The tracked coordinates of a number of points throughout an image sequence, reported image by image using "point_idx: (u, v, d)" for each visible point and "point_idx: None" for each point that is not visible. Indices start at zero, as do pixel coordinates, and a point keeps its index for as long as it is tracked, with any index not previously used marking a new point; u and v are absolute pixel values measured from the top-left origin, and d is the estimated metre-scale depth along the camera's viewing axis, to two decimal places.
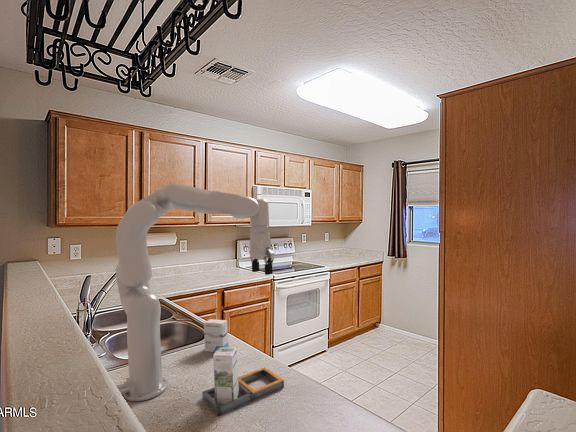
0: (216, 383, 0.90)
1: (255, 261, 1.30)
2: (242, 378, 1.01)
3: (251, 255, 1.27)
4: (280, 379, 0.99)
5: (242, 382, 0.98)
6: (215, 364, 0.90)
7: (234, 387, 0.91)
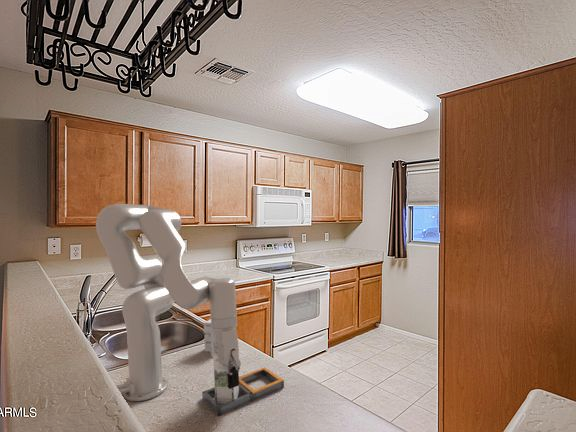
0: (216, 383, 0.90)
1: None
2: (242, 378, 1.01)
3: (212, 355, 0.94)
4: (280, 379, 0.99)
5: (242, 382, 0.98)
6: (215, 364, 0.90)
7: (234, 387, 0.91)
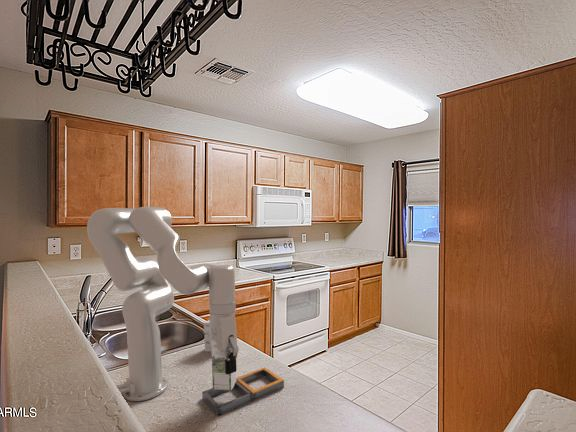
0: (214, 369, 0.91)
1: None
2: (242, 378, 1.01)
3: (210, 341, 0.94)
4: (280, 379, 0.99)
5: (242, 382, 0.98)
6: (213, 350, 0.91)
7: (231, 373, 0.91)
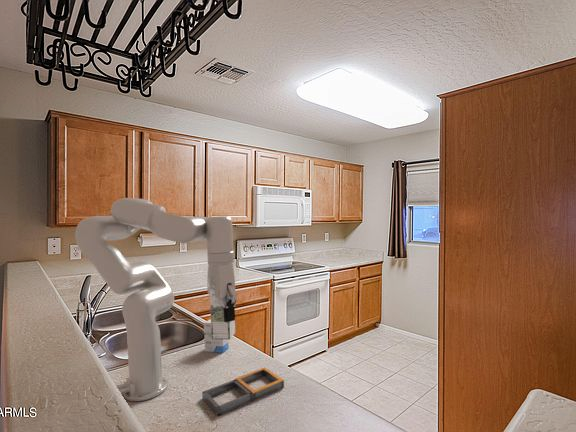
0: (212, 318, 0.91)
1: None
2: (242, 378, 1.01)
3: (209, 292, 0.94)
4: (280, 379, 0.99)
5: (242, 382, 0.98)
6: (211, 299, 0.91)
7: (230, 322, 0.91)
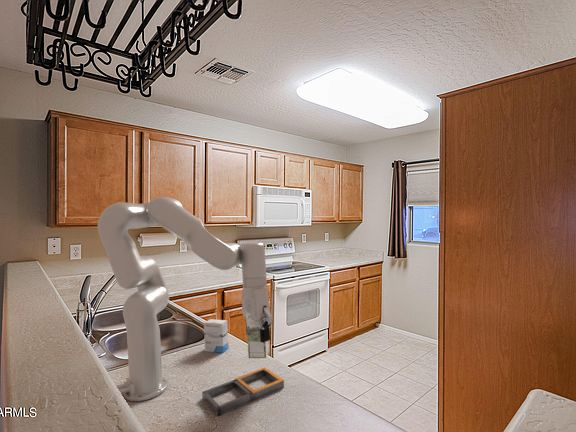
0: (249, 338, 0.97)
1: None
2: (242, 378, 1.01)
3: (244, 313, 1.00)
4: (280, 379, 0.99)
5: (242, 382, 0.98)
6: (248, 320, 0.97)
7: (266, 342, 0.98)
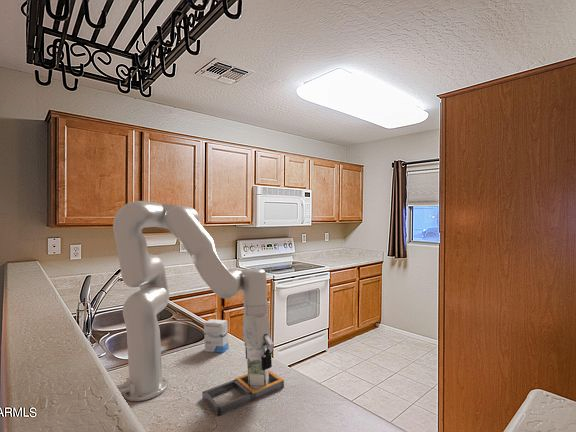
0: (249, 371, 0.97)
1: None
2: (242, 378, 1.01)
3: (245, 340, 1.00)
4: (280, 379, 0.99)
5: (242, 382, 0.98)
6: (248, 353, 0.97)
7: (266, 374, 0.97)
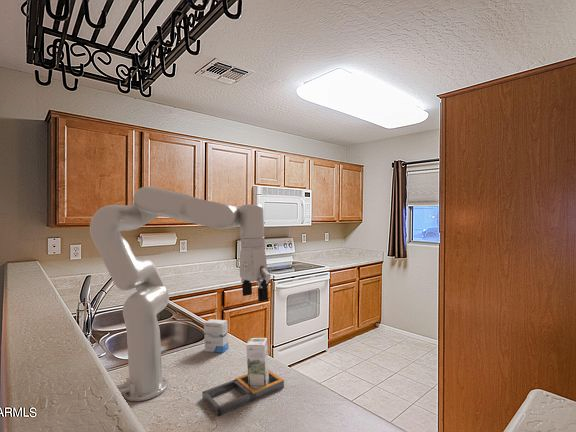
0: (249, 371, 0.97)
1: (247, 282, 1.03)
2: (242, 378, 1.01)
3: (241, 275, 1.00)
4: (280, 379, 0.99)
5: (242, 382, 0.98)
6: (248, 353, 0.97)
7: (266, 374, 0.97)
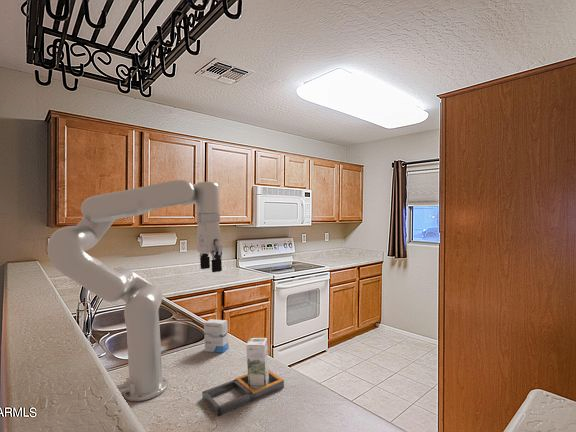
0: (249, 371, 0.97)
1: (204, 256, 1.10)
2: (242, 378, 1.01)
3: (198, 249, 1.07)
4: (280, 379, 0.99)
5: (242, 382, 0.98)
6: (248, 353, 0.97)
7: (266, 374, 0.97)
